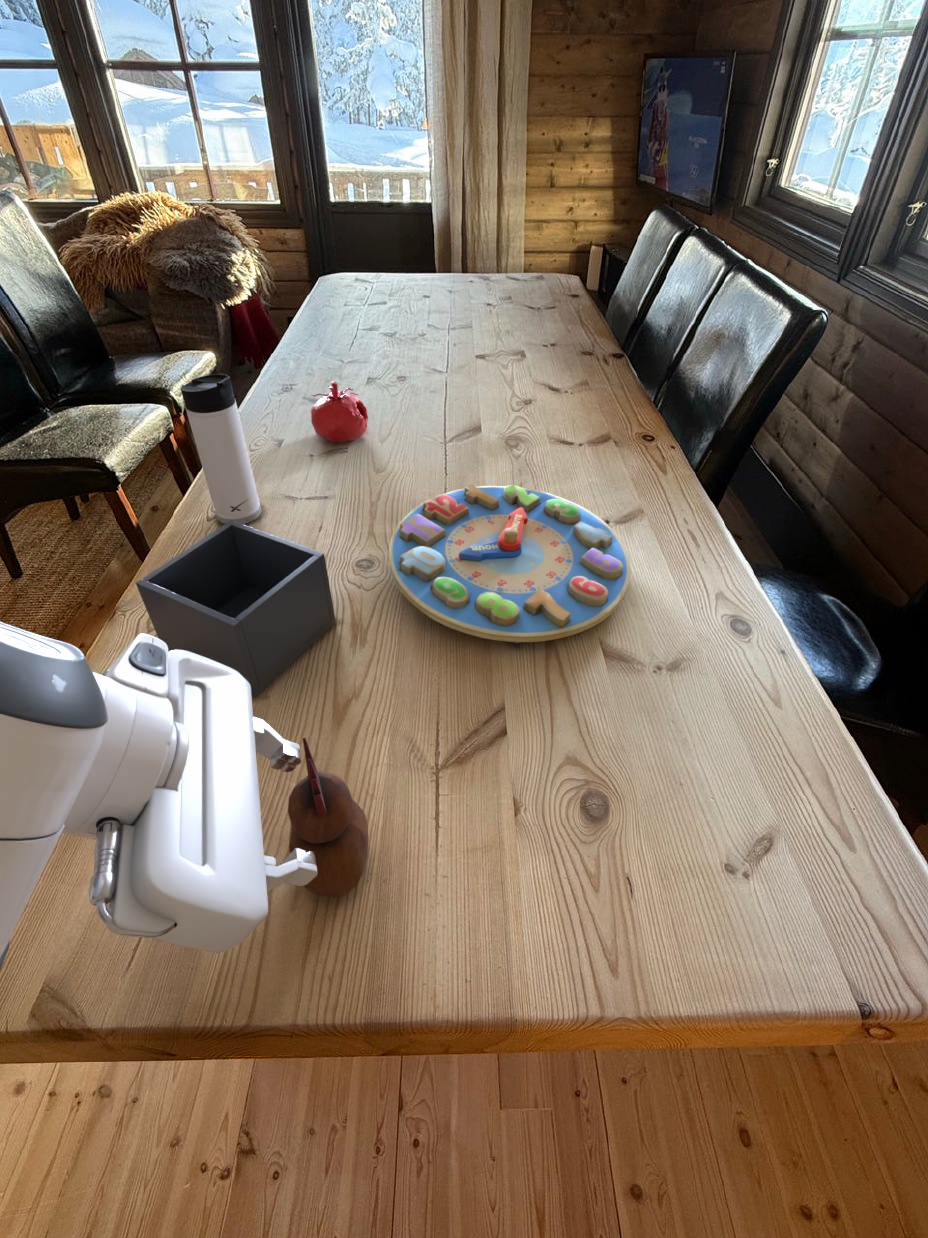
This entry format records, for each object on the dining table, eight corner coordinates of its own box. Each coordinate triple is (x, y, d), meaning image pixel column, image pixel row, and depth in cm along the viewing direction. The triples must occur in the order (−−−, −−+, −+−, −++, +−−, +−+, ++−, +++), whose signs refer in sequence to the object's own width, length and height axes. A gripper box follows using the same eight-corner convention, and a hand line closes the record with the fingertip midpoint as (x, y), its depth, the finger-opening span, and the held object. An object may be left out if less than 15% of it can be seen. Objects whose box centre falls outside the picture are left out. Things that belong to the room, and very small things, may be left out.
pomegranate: (325, 453, 110) (317, 399, 104) (304, 430, 116) (296, 378, 110) (379, 440, 114) (374, 387, 108) (356, 418, 120) (350, 367, 114)
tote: (255, 697, 69) (233, 625, 62) (164, 653, 74) (135, 582, 67) (336, 622, 78) (324, 553, 71) (249, 587, 83) (231, 519, 76)
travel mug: (248, 529, 93) (212, 390, 79) (208, 521, 94) (167, 383, 81) (271, 507, 97) (241, 372, 84) (233, 500, 99) (198, 366, 86)
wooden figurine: (310, 832, 57) (278, 719, 47) (376, 834, 57) (358, 721, 47) (292, 910, 52) (252, 801, 42) (365, 912, 52) (342, 803, 42)
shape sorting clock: (527, 693, 69) (531, 652, 65) (341, 575, 85) (335, 536, 81) (673, 565, 86) (683, 526, 82) (495, 486, 102) (497, 450, 98)
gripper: (118, 893, 30) (355, 927, 39) (145, 616, 45) (312, 684, 53) (52, 964, 32) (291, 981, 40) (99, 675, 47) (267, 732, 55)
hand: (303, 810), depth 47 cm, fingers open, 8 cm apart
